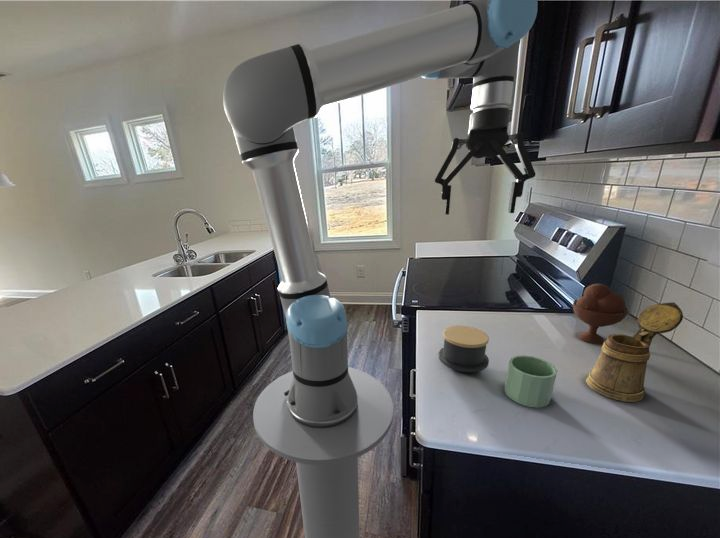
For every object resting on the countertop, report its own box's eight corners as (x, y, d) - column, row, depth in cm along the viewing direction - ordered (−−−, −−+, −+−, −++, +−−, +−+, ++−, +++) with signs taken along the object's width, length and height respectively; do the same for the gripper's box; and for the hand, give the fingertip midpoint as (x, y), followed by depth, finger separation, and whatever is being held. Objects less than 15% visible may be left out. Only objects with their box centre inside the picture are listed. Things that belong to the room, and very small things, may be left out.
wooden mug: (672, 392, 64) (706, 310, 57) (620, 406, 61) (649, 321, 55) (623, 368, 72) (648, 294, 65) (575, 380, 69) (596, 304, 63)
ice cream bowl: (563, 341, 84) (576, 288, 79) (567, 326, 92) (580, 277, 87) (617, 353, 78) (635, 296, 72) (616, 335, 86) (633, 283, 80)
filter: (437, 375, 74) (440, 343, 71) (437, 352, 83) (440, 322, 80) (490, 382, 70) (495, 349, 67) (484, 357, 80) (488, 326, 77)
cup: (508, 403, 64) (513, 374, 61) (501, 380, 71) (506, 353, 68) (555, 410, 61) (563, 380, 58) (543, 386, 68) (550, 358, 65)
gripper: (554, 105, 66) (535, 209, 74) (428, 119, 74) (423, 212, 82) (566, 97, 59) (544, 213, 67) (427, 114, 68) (421, 216, 75)
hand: (478, 213), depth 75 cm, fingers open, 13 cm apart
